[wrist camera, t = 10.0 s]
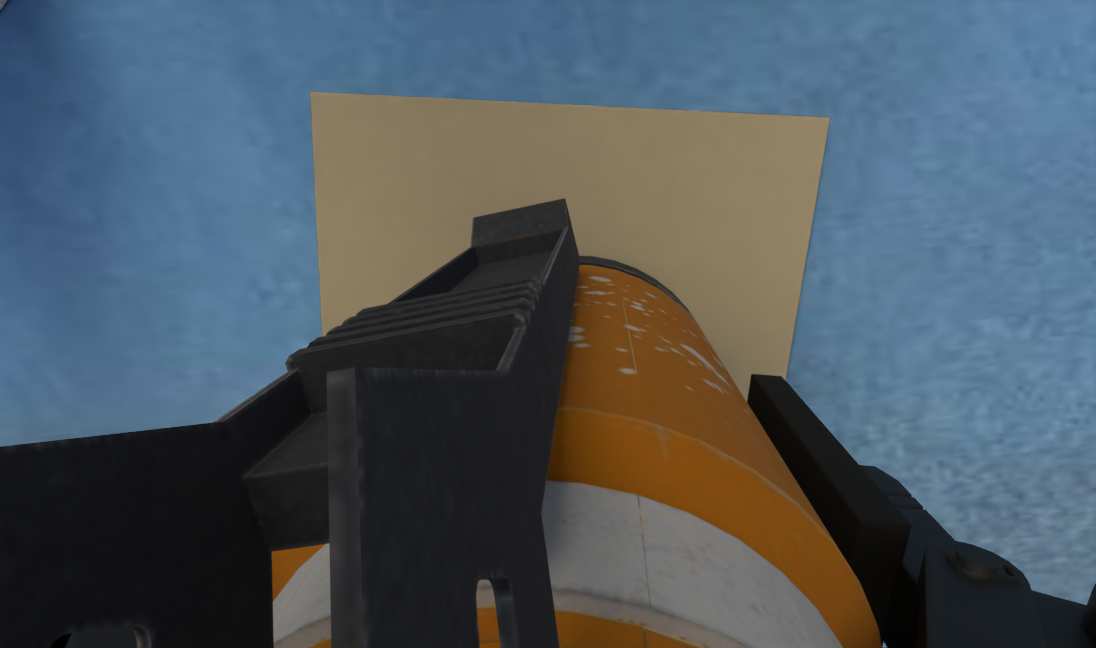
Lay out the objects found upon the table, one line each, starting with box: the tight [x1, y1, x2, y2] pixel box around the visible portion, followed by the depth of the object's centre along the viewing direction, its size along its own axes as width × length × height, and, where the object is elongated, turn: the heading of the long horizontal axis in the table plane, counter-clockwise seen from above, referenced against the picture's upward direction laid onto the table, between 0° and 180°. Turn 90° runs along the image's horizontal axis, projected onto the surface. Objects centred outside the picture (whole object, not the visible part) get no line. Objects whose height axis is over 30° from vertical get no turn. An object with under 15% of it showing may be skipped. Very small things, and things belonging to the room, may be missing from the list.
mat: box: [310, 92, 830, 402], centre depth 21 cm, size 20×16×1 cm
